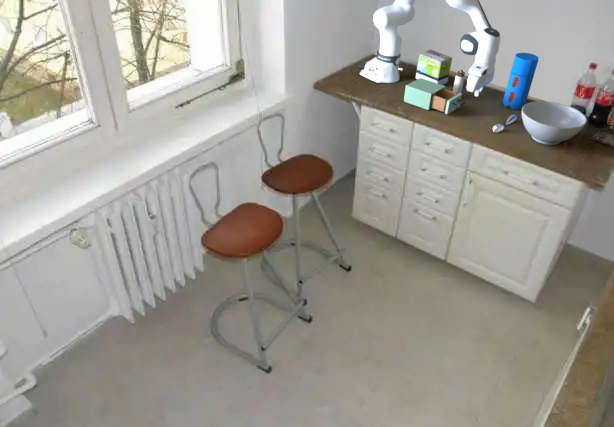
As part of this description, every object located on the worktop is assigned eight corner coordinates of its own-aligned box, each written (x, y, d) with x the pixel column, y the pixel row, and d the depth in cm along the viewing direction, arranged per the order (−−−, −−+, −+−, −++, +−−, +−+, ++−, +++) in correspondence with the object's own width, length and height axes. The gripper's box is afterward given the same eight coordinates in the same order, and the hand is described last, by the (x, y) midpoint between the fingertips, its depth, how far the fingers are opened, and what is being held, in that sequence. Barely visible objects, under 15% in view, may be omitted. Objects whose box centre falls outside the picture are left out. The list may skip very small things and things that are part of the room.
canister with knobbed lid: (449, 96, 270) (455, 69, 261) (454, 94, 273) (459, 67, 264) (457, 99, 268) (463, 72, 259) (462, 96, 270) (467, 70, 262)
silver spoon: (511, 109, 250) (520, 112, 248) (509, 116, 252) (519, 119, 250) (491, 125, 239) (501, 128, 236) (489, 132, 241) (499, 135, 239)
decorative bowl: (530, 119, 251) (537, 96, 244) (586, 139, 236) (596, 114, 229) (504, 137, 235) (511, 113, 228) (563, 159, 221) (572, 134, 213)
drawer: (467, 109, 256) (470, 96, 252) (455, 117, 249) (457, 104, 245) (435, 98, 266) (438, 85, 262) (422, 105, 258) (425, 93, 254)
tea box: (414, 79, 288) (418, 52, 279) (426, 74, 293) (430, 48, 285) (436, 87, 279) (441, 60, 270) (447, 83, 284) (453, 56, 276)
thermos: (498, 104, 264) (511, 56, 249) (508, 98, 270) (521, 50, 255) (518, 111, 258) (533, 62, 243) (528, 105, 264) (542, 56, 249)
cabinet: (442, 102, 265) (445, 85, 260) (428, 110, 256) (431, 93, 251) (417, 93, 272) (420, 77, 267) (403, 101, 264) (405, 85, 259)
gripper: (487, 59, 243) (481, 87, 251) (467, 70, 230) (460, 99, 239) (500, 62, 240) (493, 90, 248) (480, 74, 227) (473, 103, 235)
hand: (477, 95), depth 243 cm, fingers closed
